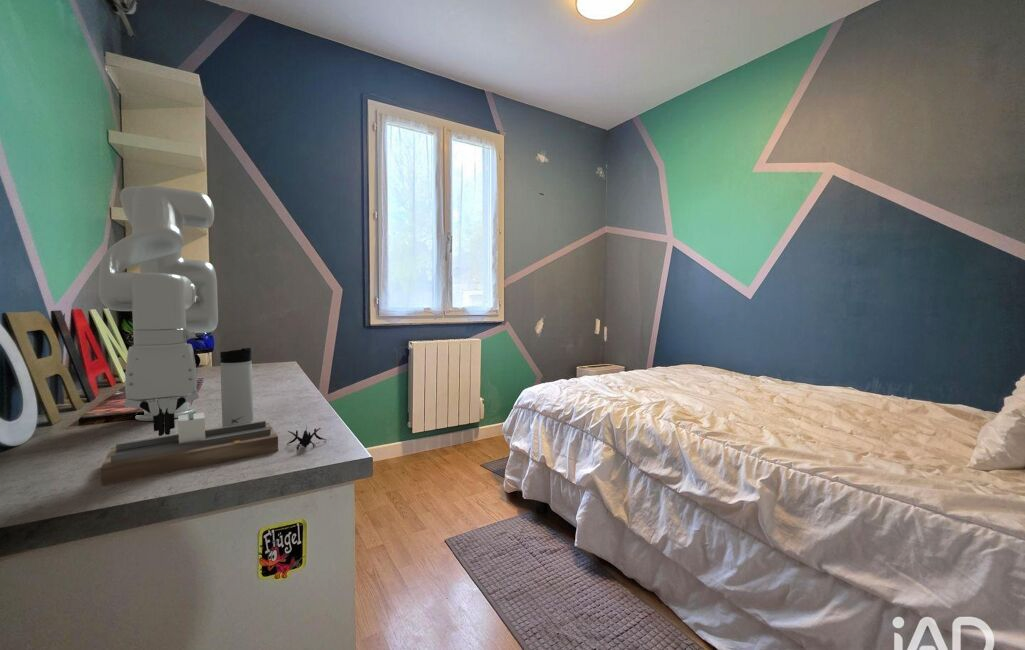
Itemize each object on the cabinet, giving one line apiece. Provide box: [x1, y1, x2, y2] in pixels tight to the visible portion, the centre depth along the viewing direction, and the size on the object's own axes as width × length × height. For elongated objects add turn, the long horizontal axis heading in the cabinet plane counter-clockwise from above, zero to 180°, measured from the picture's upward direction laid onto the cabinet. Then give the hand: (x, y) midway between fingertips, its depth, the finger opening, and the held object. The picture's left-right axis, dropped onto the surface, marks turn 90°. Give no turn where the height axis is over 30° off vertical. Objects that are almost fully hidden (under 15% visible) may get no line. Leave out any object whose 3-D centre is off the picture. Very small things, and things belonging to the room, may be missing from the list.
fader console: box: [100, 420, 279, 486], centre depth 80 cm, size 12×26×4 cm, turn 129°
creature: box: [286, 424, 327, 450], centre depth 86 cm, size 8×5×8 cm
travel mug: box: [219, 347, 254, 428], centre depth 97 cm, size 6×7×20 cm
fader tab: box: [177, 411, 206, 443], centre depth 79 cm, size 5×4×5 cm
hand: (164, 433), depth 76 cm, fingers closed
